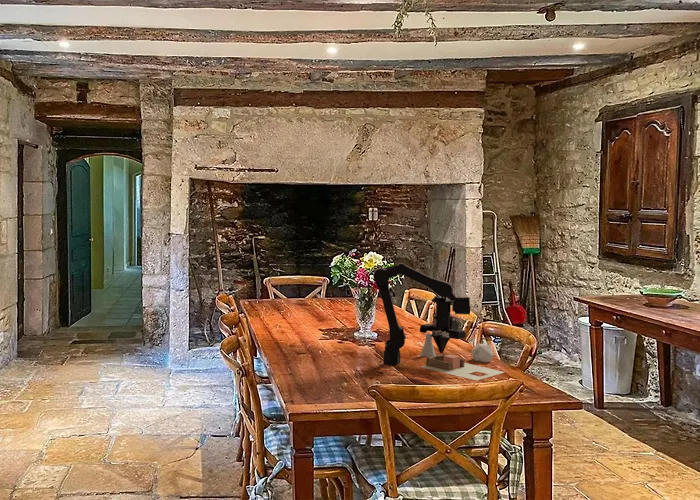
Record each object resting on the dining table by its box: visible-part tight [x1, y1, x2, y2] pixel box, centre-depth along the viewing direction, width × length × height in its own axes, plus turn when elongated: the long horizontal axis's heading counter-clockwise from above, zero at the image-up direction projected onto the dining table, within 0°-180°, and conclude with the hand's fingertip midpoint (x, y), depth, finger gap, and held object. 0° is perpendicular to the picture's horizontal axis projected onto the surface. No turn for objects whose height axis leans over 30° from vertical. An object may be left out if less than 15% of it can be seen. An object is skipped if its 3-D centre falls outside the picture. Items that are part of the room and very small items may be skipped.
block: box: [443, 354, 461, 370], centre depth 271 cm, size 4×4×4 cm
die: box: [470, 343, 495, 363], centre depth 285 cm, size 8×9×10 cm
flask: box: [419, 333, 437, 358], centre depth 292 cm, size 7×7×10 cm
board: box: [421, 362, 505, 382], centre depth 269 cm, size 19×26×1 cm
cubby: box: [425, 353, 466, 371], centre depth 273 cm, size 10×11×3 cm
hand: (441, 352), depth 274 cm, fingers closed
